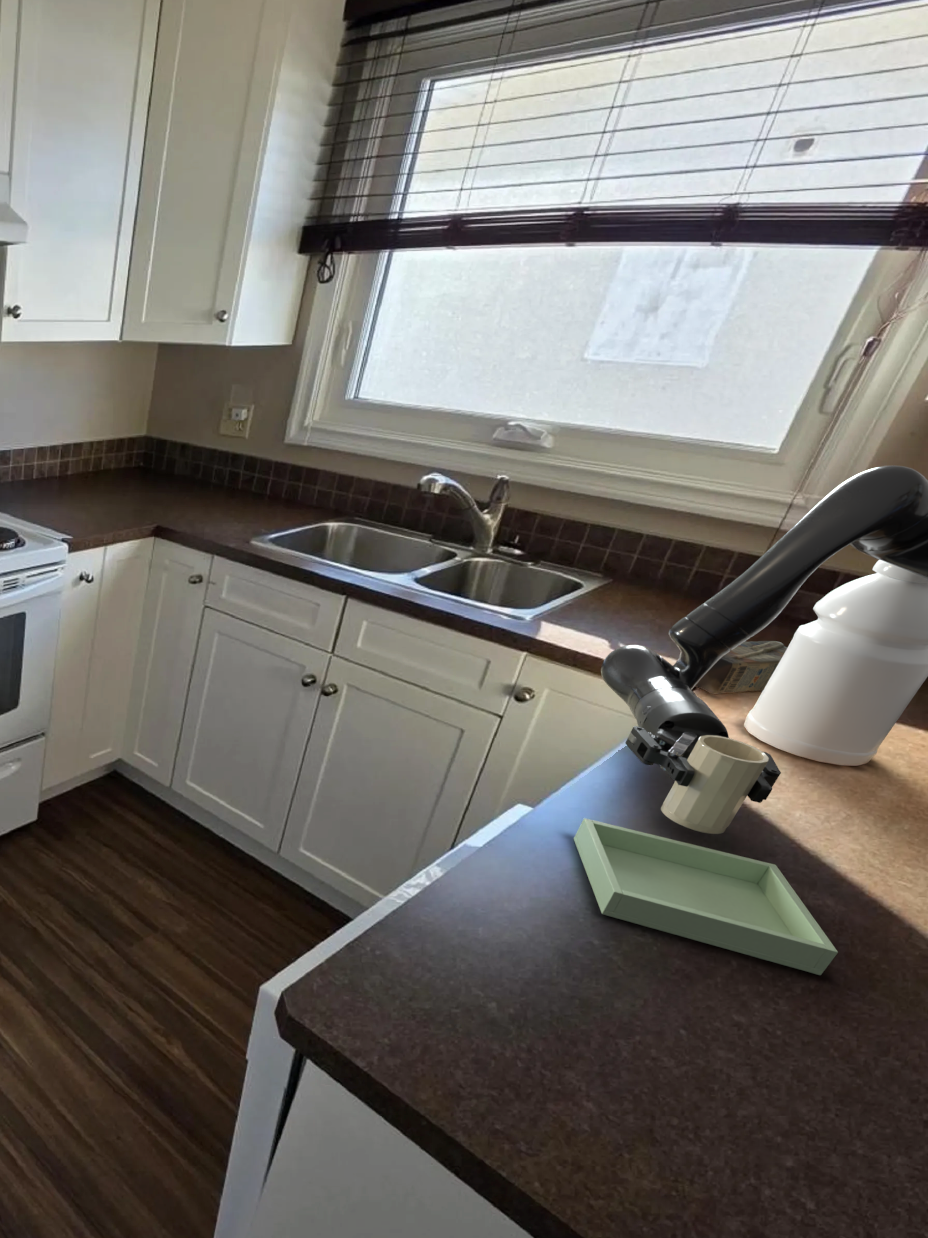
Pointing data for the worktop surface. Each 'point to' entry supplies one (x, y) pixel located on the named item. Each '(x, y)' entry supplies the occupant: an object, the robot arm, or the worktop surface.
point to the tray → (701, 895)
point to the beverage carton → (744, 668)
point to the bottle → (848, 670)
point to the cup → (715, 784)
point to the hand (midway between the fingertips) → (723, 787)
